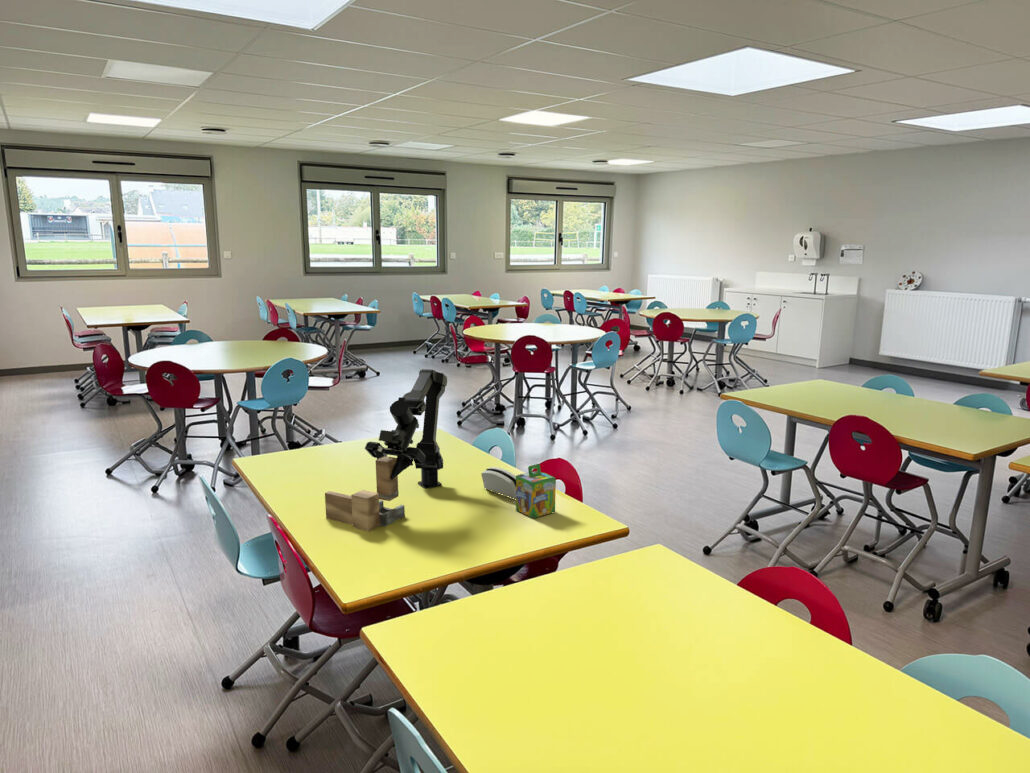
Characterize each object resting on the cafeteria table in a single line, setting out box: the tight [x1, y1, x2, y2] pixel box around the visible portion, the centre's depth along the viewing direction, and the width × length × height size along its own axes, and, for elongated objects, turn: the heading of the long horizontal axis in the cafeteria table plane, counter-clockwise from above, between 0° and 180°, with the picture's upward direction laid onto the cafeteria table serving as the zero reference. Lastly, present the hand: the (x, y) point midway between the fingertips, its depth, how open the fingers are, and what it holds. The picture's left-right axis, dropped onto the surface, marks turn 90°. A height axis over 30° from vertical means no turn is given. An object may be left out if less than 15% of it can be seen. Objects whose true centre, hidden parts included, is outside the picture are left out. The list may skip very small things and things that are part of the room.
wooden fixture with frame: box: [324, 489, 406, 532], centre depth 210 cm, size 14×20×10 cm
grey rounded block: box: [481, 466, 517, 499], centre depth 232 cm, size 17×5×10 cm, turn 43°
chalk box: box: [515, 463, 557, 519], centre depth 215 cm, size 9×9×15 cm
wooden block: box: [375, 455, 399, 502], centre depth 208 cm, size 5×5×12 cm
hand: (384, 477), depth 206 cm, fingers closed on wooden block, 4 cm apart
